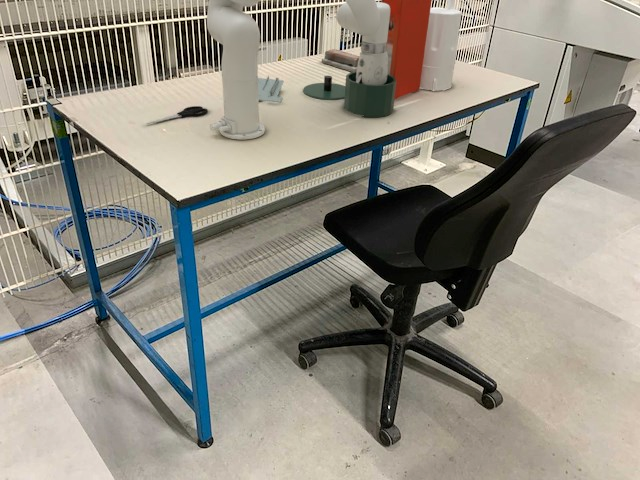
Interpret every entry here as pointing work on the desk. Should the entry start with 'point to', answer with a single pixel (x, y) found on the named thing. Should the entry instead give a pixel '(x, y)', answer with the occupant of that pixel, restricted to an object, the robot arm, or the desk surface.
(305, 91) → the lid
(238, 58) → the robot arm
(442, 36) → the white cylindrical canister
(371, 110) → the pot
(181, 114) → the scissors
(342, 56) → the packaged product
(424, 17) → the file binder
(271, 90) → the metal bracket
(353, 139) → the desk surface
